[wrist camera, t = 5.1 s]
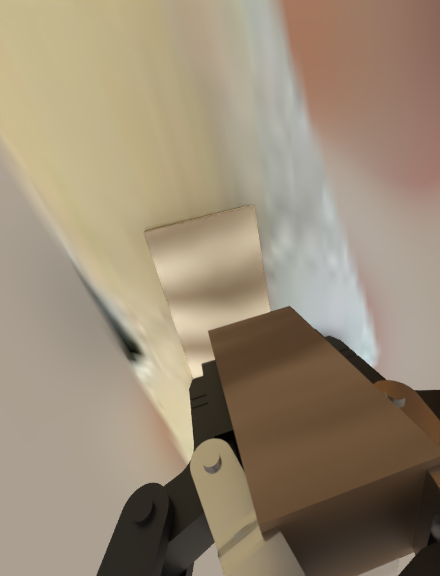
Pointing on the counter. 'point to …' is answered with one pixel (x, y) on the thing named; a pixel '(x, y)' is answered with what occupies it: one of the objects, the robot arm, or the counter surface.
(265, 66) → the counter surface
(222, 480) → the robot arm
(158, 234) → the board
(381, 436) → the brown block
